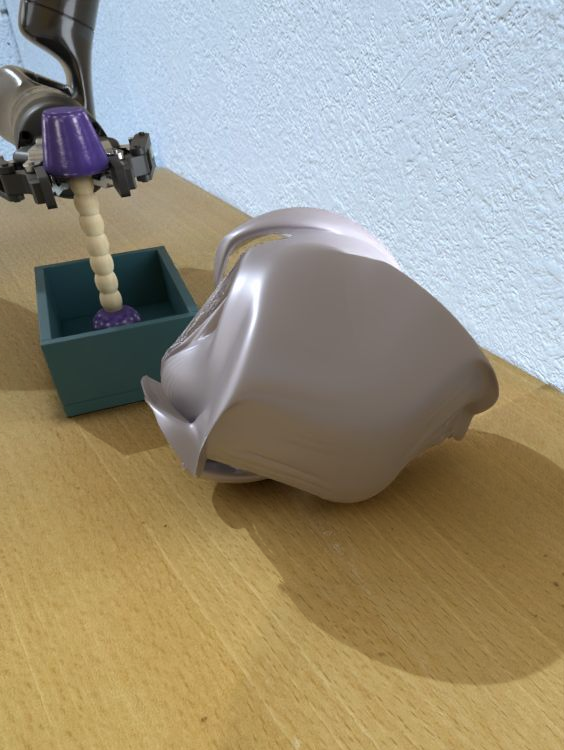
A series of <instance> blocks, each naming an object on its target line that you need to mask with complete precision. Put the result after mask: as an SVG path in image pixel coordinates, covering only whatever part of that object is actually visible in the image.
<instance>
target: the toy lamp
mask: <svg viewBox="0 0 564 750" xmlns="http://www.w3.org/2000/svg"><path fill="white" fill-rule="evenodd" d="M42 148H43V166H44V169H45V171H46V173H47V174H48V175H50V176H54V177H67V178H68V183H69V186H70V188H71V190H72V191H73V193H74V199H73V205H74V207H75V210H76V211H77V213H78V215H79V216H78V221H79V222H78V223H79V226H80V229H81V231H82V232H83V235H84V238H83V239H84V245H85V246H84V247H85V249H86V251H87V252H88V253H89V258H90V265H91V268H92V270H93V271H94V273H95V284H96V287H97V289H98V290H99V291H100V295H99V298H100V303H101V305H102V307H103V308H102V309H100V310H99V311H98V312H97V313H96V314H95V316H94V319H93V322H92V329H93V331H97V330H102V329H108V328H113V327H118V326H123V325H128V324H133V323H139V322H143V319H142V318H141V316H140V314H139V313H138V312H137V311H136V310H135V309H133V308H132V307H130V306H127V305H123V304H122V297H121V294H120V293H119V291H118V290H117V289H118V280H117V277H116V275H115V273H114V272H113V269H114V263H113V259H112V257H111V255H110V254H111V253H110V252H109V250H110V241H109V239H108V237H107V235H106V234H105V233H104V232H105V222H104V219H103V217H102V215H101V214H100V213H99V211H100V202H99V199H98V196H97V195H96V192H95V193H94V192H93V190H94V181H93V178H92V175H95V174H98V173H102V172H104V171H106V170H107V169H109V168H110V162H109V159H108V157H107V154H106V152H105V150H104V148H103V146H102V144H101V142H100V140H99V137H98V135H97V133H96V131H95V129H94V127H93V125H92V123H91V121H90V119H89V117H88V115H87V113H86V112H85V110H84V109H83V108H80V107H56V108H50V109H46V110H44V111H43V113H42Z"/></svg>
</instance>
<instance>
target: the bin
mask: <svg viewBox="0 0 564 750" xmlns="http://www.w3.org/2000/svg"><path fill="white" fill-rule="evenodd" d="M109 254H110V255H111V257H112V259H113V263H114V269H113V272H114V273H115V275H116V277H117V280H118V289H117V290H118V291H119V293H120V294H121V297H122V304H123V305H127V306H130V307H132V308H133V309H135V310H136V311H137V312H138V313H139V314H140V316H141V318H142V319H143V322H139V323H133V324H128V325H123V326H118V327H113V328H108V329H102V330H97V331H93V329H92V322H93V319H94V316H95V314H96V313H97V312H98V311H99V310H100V309H102V308H103V307H102V305H101V303H100V298H99V295H100V291H99V290H98V289H97V287H96V284H95V273H94V271H93V270H92V268H91V265H90V257H87V258H80V259H74V260H68V261H61V262H55V263H49V264H43V265H38V266H34V267H33V271H34V273H33V274H34V284H35V295H36V296H35V297H36V308H37V318H38V320H37V321H38V330H39V343H40V344H39V345H40V349H41V351H42V354H43V356H44V359H45V362H46V365H47V368H48V370H49V373H50V376H51V379H52V381H53V384H54V386H55V389H56V393H57V394H58V397H59V400H60V403H61V406H62V409H63V411H64V414H65V416H66V418H70V417H75V416H79V415H83V414H88V413H93V412H97V411H102V410H106V409H110V408H114V407H120V406H124V405H128V404H133V403H137V402H142V401H145V399H144V397H145V395H144V392H143V389H142V385H141V380H142V377H143V376H146V375H147V376H148V377H149V378H151V379H154V380H156V381H158V382H159V383H161V374H160V371H161V364H162V363H161V360H162V358H163V356H164V355H165V353H166V352H167V350H168V349H169V348H170V347H171V346H173V344H174V343H175V342H176V340H177V339H178V337H180V336H181V334H182V333H183V332H184V330H185V329H186V328H187V326H188V325H189V324H190V322H191V321H192V320H193V318H194V317H195V316H196V314H197V313H198V312H199V310H200V308H199V306H198V305H197V303H196V301H195V299H194V297H193V296H192V294H191V292H190V290H189V288H188V286H187V285H186V283H185V281H184V279H183V277H182V276H181V274H180V272H179V269H178V268H177V267H176V265H175V263H174V261H173V259H172V257H171V256H170V254H169V251H168V250H167V248H166V246H165V245H159V246H152V247H148V248H141V249H134V250H128V251H122V252H116V253H109ZM145 398H146V397H145Z"/></svg>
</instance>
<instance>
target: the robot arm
mask: <svg viewBox="0 0 564 750" xmlns="http://www.w3.org/2000/svg"><path fill="white" fill-rule="evenodd" d="M100 2H101V0H19V4H18V5H19V6H18V15H17V27H18V30H19V32H20V34H21V35H22V37H23V38H24V39H25V40H27V41H28V42H30V43H31V44H32V45H34V46H36V47H37V48H38V49H40V50H42V51H44V52H45V53H46V54H48V55H50V56H51V57H52V58H53V59H55V60H56V62H58V63H59V65H60V66H61V68H62V70H63V72H64V75H65V81H66V82H65V83H63V82H60V81H57V80H56V79H52V78H50V77H47V76H45V75H42V74H40V73H36V72H34V71H32V70H29V69H27V68H24V67H21V66H18V65H15V64H14V65H13V64H6V65H2V66H0V138H2V139H3V140H4V141H6V142H7V143H10V144H11V145H13V146H14V147H15V151H14V152H13V153H12V159H10V160H6V159H5V158H4V155H2V154H0V198H2V199H3V200H6V201H8V202H9V203H16V204H17V203H21V202H22V201H24V200H25V199H26V197H25V195H32V198H33V201H34V203H35V204H36V205H45V206H46V208H47V210H55V209H58V208H59V207H58V203H57V200H56V197H58V198H60V199H67V200H74V193H73V191H72V190H71V188H70V186H69V183H68V178H67V177H54V176H50V175H48V174H47V173H46V171H45V169H44V166H43V148H42V113H43V111H44V110H46V109H50V108H56V107H80V108H83V109H84V110H85V112H86V113H87V115H88V117H89V119H90V121H91V123H92V125H93V127H94V129H95V131H96V133H97V135H98V137H99V140H100V142H101V144H102V146H103V148H104V150H105V152H106V154H107V157H108V159H109V162H110V168H109V169H107V170H106V171H104V172H102V173H98V174H95V175H92V178H93V181H94V190H93V192H94V193H95V194H96V193H97V192H98V191H99V190H101V189H110V188H114V189H115V190H116V193H117V194H118V195H119V196H120V198H121V199H124V198H130V197H131V196H132V194H131V193H132V192H131V190H132V191H133V190H136V189H137V188H138V185H137V182H139V183H144V184H145V183H148V182H149V181H152V180H153V178H154V173H155V170H156V166H157V164H156V158H155V155H154V149H153V145H152V140H151V136H150V133H149V132H145V131H139V132H137V133H135V134H134V135H133V136H130V137H128V138H127V140H128V143H127V144H125V143H124V144H120V142H119V141H118V140H117V139H116V138H115V137H111V136H108V135H107V133H106V132H105V130H104V128H103V127H102V125H101V124H100V123H99V122H98V121H97V115H96V113H97V112H96V106H95V96H94V87H93V86H94V85H93V45H94V38H95V31H96V25H97V20H98V14H99V7H100Z"/></svg>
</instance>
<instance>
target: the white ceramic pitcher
mask: <svg viewBox="0 0 564 750" xmlns="http://www.w3.org/2000/svg"><path fill="white" fill-rule="evenodd" d="M270 235H291V236H289V237H283V238H279V239H274V240H270V241H265V242H260V243H259V244H255V245H253V246H252V247H249V248H246V249H245V251H244V252H242V253H240V255H239V257H238V258H237V260H236V262H235V263H234V264H233V265H232V267H230V270H228V272H227V273H226V274H225V272H226V268H227V267H228V262H229V260H230V257H231V256H232V255H233V254H235V253H236V252H237V251H239V250H240V249H242V248H243V247H245V246H246V245H248V244H249V243H251V242H253V241H256V240H258V239H261V238H263V237H267V236H270ZM224 274H225V275H224ZM213 283H214V288H215V290H213V291H212V294H211V295H210V296H209V297H208V298H207V300H206V301H205V302H204V304H203V305H202V307H200V308H199V312H198V313H197V314H196V316H195V317H194V318H193V320H192V321H191V322H190V324H189V325H188V326H187V328H186V329H185V330H184V332H183V333H182V334H181V336H180V337H178V339H177V340H176V342H175V343H174V344H173V346H171V347H170V348H169V349H168V350H167V352H166V353H165V355H164V356H163V358H162V360H161V363H162V364H161V371H160V374H161V383H159V382H158V381H156V380H154V379H151V378H149V377H148V376H147V375H146V376H143V377H142V380H141V385H142V389H143V392H144V395H145V397H146V398H145V397H144V399H145V400H144V401H145V403H146V404H147V405H148V407H149V408H150V409H151V410H152V412H153V414H154V416H155V419H156V422H157V425H158V427H159V429H160V431H161V432H162V434H163V436H164V438H165V440H166V442H167V444H168V445H169V446H170V447H171V449H172V450H173V452H174V454H175V455H176V457H177V458H178V459H179V460H180V461H181V463H182V464H181V465H182V471H183V472H185V473H187V474H188V475H191V476H193V477H194V478H196V479H201V480H205V481H210V482H215V483H222V484H224V483H225V484H244V483H245V484H247V483H254V482H259V481H263V480H267V479H270V480H272V481H276V482H279V483H282V484H285V485H287V486H290V487H292V488H295V489H298V490H300V491H304V492H307V493H309V494H311V495H314V496H316V497H318V498H320V499H321V500H325V501H327V502H328V501H329V502H331V503H332V502H333V503H340V504H356V503H360V502H364V501H367V500H369V499H371V498H373V497H375V496H376V495H378V494H380V493H381V492H383V491H384V490H385V489H386V488H387V487H389V486H390V485H391V484H392V483H393V482H394V481H395V479H396V478H397V477H398V476H399V475H400V473H401V472H402V470H404V469H405V467H407V466H408V465H409V464H410V463H412V462H413V461H414V460H415V459H417V458H418V457H419V456H421V455H422V454H423V453H424V452H426V451H427V450H428V449H430V448H432V447H434V446H437V445H438V446H439V445H440V444H442V443H443V442H445V440H447V439H454V440H455V441H457V442H461V441H463V439H465V437H466V435H467V434H468V431H469V427H470V425H471V423H472V421H473V418H474V417H475V416H476V415H479V414H482V413H484V412H486V411H488V410H490V409H491V408H492V407H494V405H496V403H497V402H498V400H499V396H500V385H499V380H498V377H497V374H496V372H495V370H494V368H493V365H492V363H491V362H490V360H489V359H488V356H487V355H486V354H485V351H483V350H482V348H481V346H480V345H479V343H478V342H477V341H476V340H475V338H473V336H472V335H471V334H470V332H469V331H468V330H467V329H466V328H465V326H464V325H463V324H462V323H461V322H460V321H459V320H458V318H456V316H455V315H454V314H453V313H452V312H451V311H450V310H449V309H448V308H447V307H446V306H445V305H443V303H442V302H440V301H439V300H438V299H437V298H436V297H435V296H433V295H432V293H430V292H429V291H427V289H425V288H424V287H423V286H422V285H420V284H419V283H418V282H416V281H415V280H414V279H412V278H411V277H410V276H408V275H407V274H405V272H403V269H402V268H401V266H400V264H399V263H398V261H397V260H396V258H395V256H394V255H393V254H392V253H391V251H390V250H389V249H388V247H387V246H386V245H385V244H384V243H383V242H382V241H381V240H380V239H379V238H378V237H377V236H375V235H374V233H372V232H371V231H369V230H368V229H367V228H365V227H364V226H363V225H361V224H359V223H357V222H356V221H354V220H352V219H351V218H349V217H347V216H345V215H341V214H339V213H337V212H335V211H331V210H328V209H323V208H318V207H309V206H293V207H285V208H280V209H279V208H278V209H275V210H272V211H268V212H265V213H262V214H260V215H258V216H255V217H253V218H250V219H249V220H246V221H245V222H243V223H241V224H239V225H238V226H236V227H235V228H233V229H232V230H230V231H228V233H227V234H226V235H224V236H223V237H222V239H220V241H219V243H218V245H217V246H216V249H215V253H214V259H213Z"/></svg>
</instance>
